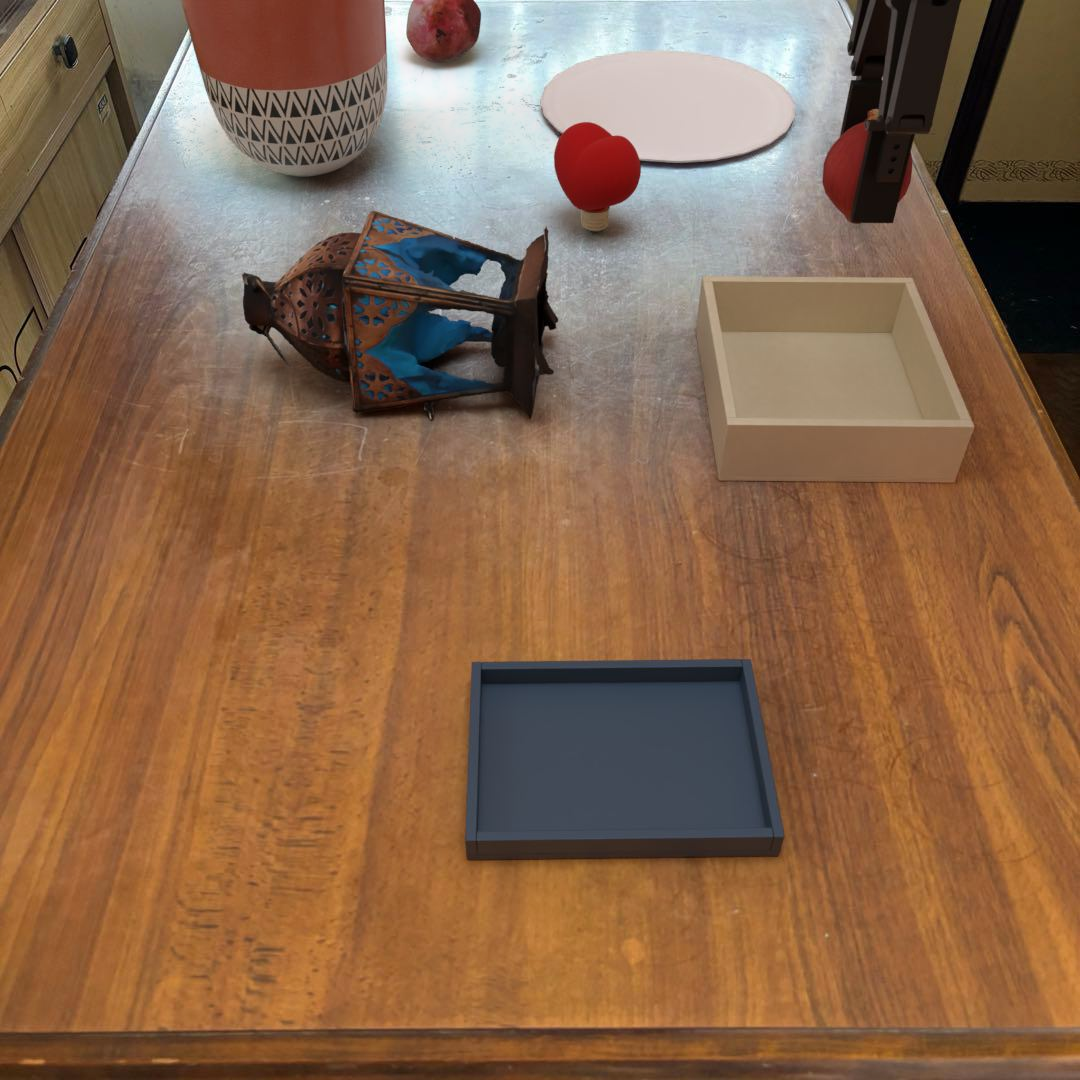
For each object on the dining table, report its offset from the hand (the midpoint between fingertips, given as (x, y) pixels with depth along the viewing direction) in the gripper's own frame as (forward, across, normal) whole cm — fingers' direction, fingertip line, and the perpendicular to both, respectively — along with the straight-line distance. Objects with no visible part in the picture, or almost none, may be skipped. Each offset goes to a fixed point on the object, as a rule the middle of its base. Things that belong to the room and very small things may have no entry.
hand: (862, 195), depth 76 cm
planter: (+18, -41, -47) cm, 65 cm away
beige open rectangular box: (+18, -1, 0) cm, 18 cm away
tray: (+19, +34, -17) cm, 42 cm away
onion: (+2, 0, 0) cm, 2 cm away
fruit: (+18, -69, -35) cm, 80 cm away
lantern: (+18, -4, -33) cm, 38 cm away
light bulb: (+18, -27, -17) cm, 37 cm away
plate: (+18, -55, -8) cm, 58 cm away
